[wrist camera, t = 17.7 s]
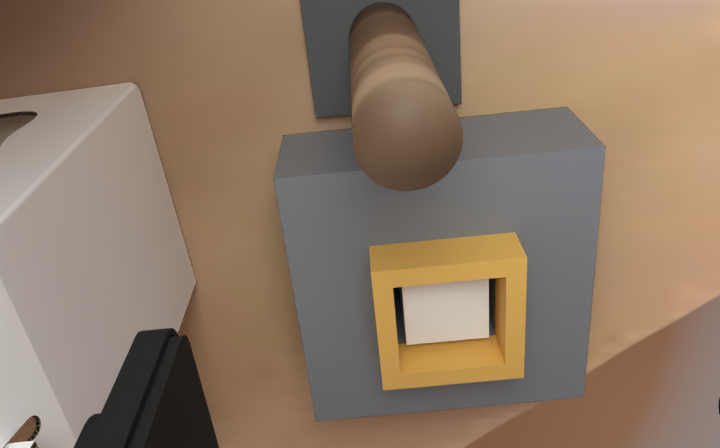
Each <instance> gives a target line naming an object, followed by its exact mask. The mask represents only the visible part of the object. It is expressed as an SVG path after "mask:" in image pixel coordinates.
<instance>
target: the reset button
mask: <svg viewBox="0 0 720 448" xmlns="http://www.w3.org/2000/svg"><path fill="white" fill-rule="evenodd" d="M399 292H400V300H401V307H402V315H403V322H404V329H405V337H406V344H407V345H413V344H423V343H434V342H445V341H456V340H467V339H478V338H489V279H481V280H470V281H459V282H449V283H438V284H428V285H417V286H406V287H399Z"/></svg>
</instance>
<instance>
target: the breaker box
mask: <svg viewBox="0 0 720 448" xmlns="http://www.w3.org/2000/svg"><path fill="white" fill-rule="evenodd" d="M459 119H460V121H461V125H462V129H463V145H462V150H461V153H460V156H459V158H458V160H457V162H456V164H455V165H454V167H453V168H452V169H451V171H450V172H449V173H448V174H447V175H446V176H445V177H444V178H442V179H441V180H440V181H438V182H437V183H435V184H433V185H431V186H429V187H427V188H424V189H420V190H415V191H396V190H391V189H388V188H385V187H383V186H381V185H378V184H377V183H375V182H374V181H372V180H371V179H370V178H369V177H368V176H367V175H366V174H365V173H364V172H363V171H362V169H361V168H360V166H359V164H358V162H357V160H356V157H355V154H354V149H353V131H352V128H351V129H341V130H331V131H322V132H312V133H302V134H292V135H283V140H282V144H281V149H280V153H279V157H278V162H277V166H276V170H275V175H274V185H275V190H276V196H277V202H278V207H279V213H280V219H281V224H282V230H283V236H284V241H285V247H286V253H287V258H288V264H289V270H290V276H291V281H292V287H293V293H294V298H295V304H296V310H297V315H298V321H299V327H300V332H301V338H302V344H303V350H304V355H305V361H306V367H307V372H308V378H309V384H310V389H311V395H312V401H313V406H314V412H315V418H316V421H324V420H335V419H346V418H357V417H369V416H380V415H391V414H402V413H413V412H425V411H436V410H447V409H458V408H469V407H481V406H492V405H503V404H514V403H526V402H537V401H548V400H558V399H570V398H581V397H584V386H585V376H586V364H587V353H588V342H589V330H590V319H591V307H592V296H593V284H594V273H595V262H596V250H597V239H598V227H599V216H600V205H601V193H602V182H603V170H604V159H605V148H606V146H605V145H604V144H603V143H602V142H601V141H600V140H599V139H598V138H597V137H596V136H595V135H594V134H593V133H592V132H591V131H590V130H589V129H588V128H587V126H586V125H585V124H584V123H583V122H582V121H581V120H580V119H579V118H578V117H577V116H576V115H575V114H574V113H573V112H572V111H571V110H570V109H569V108H568V107H560V108H550V109H540V110H530V111H520V112H511V113H501V114H491V115H481V116H471V117H461V118H459ZM481 279H489V338H478V339H467V340H456V341H445V342H434V343H423V344H413V345H407V344H406V337H405V329H404V322H403V315H402V307H401V300H400V292H399V287H406V286H417V285H428V284H438V283H449V282H459V281H470V280H481Z"/></svg>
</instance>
